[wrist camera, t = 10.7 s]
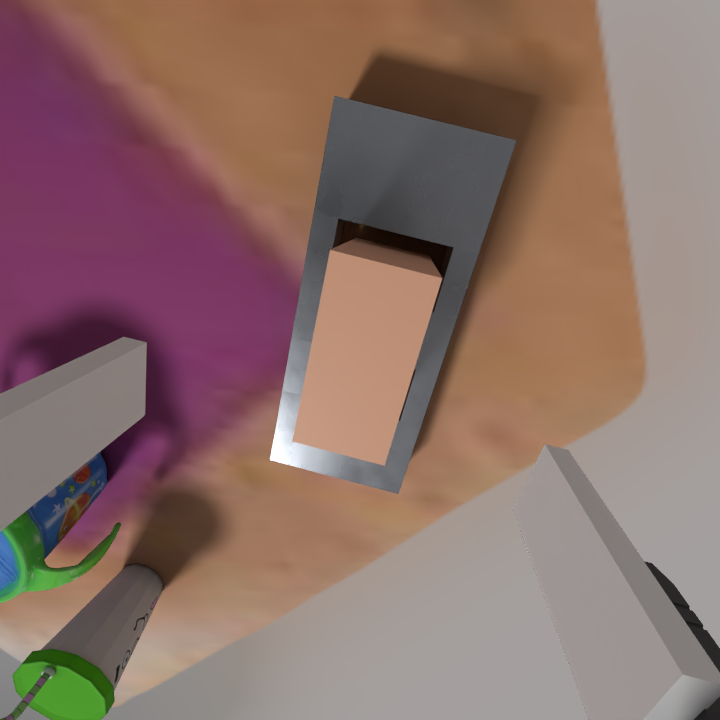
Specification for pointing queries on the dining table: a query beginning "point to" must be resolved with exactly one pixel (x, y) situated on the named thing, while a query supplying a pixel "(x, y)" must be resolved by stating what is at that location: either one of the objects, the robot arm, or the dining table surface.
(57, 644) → the cup
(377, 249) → the tan bridge block
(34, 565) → the snack cup
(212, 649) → the dining table surface
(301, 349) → the rail
